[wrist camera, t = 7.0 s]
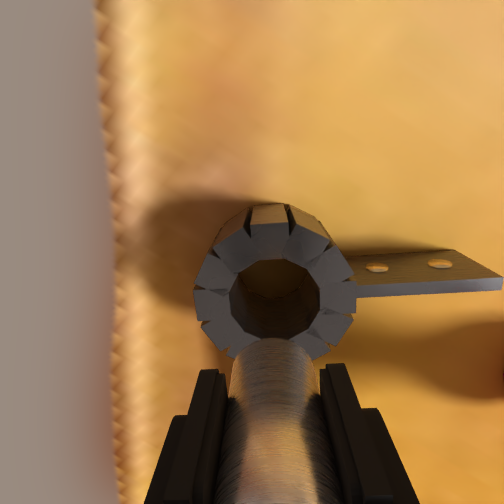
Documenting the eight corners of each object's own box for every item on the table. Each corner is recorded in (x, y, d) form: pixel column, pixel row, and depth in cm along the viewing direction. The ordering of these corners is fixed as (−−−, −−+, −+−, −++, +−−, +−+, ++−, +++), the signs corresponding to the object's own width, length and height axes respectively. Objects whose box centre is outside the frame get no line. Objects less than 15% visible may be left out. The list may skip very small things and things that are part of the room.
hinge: (203, 209, 20) (183, 229, 15) (461, 190, 19) (527, 205, 14) (229, 406, 25) (220, 468, 20) (435, 400, 24) (477, 463, 19)
